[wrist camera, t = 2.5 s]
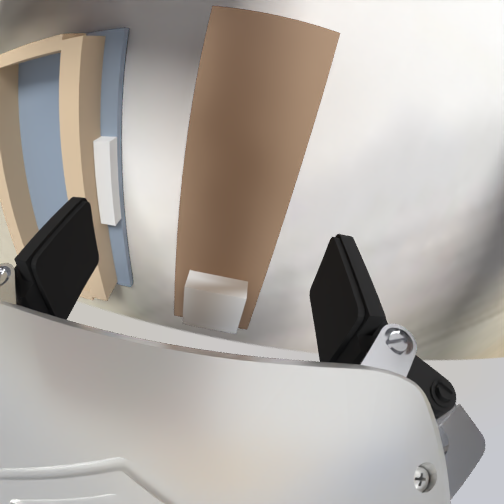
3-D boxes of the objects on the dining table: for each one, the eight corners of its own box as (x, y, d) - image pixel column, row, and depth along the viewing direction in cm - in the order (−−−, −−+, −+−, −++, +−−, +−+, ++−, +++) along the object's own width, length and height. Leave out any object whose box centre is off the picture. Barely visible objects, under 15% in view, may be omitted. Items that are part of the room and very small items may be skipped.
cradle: (129, 28, 11) (103, 25, 9) (133, 282, 23) (121, 307, 21) (4, 57, 10) (-23, 65, 8) (35, 258, 23) (20, 278, 20)
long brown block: (313, 43, 12) (349, 29, 6) (252, 265, 22) (245, 345, 16) (232, 26, 11) (205, -1, 6) (193, 253, 21) (169, 330, 16)
